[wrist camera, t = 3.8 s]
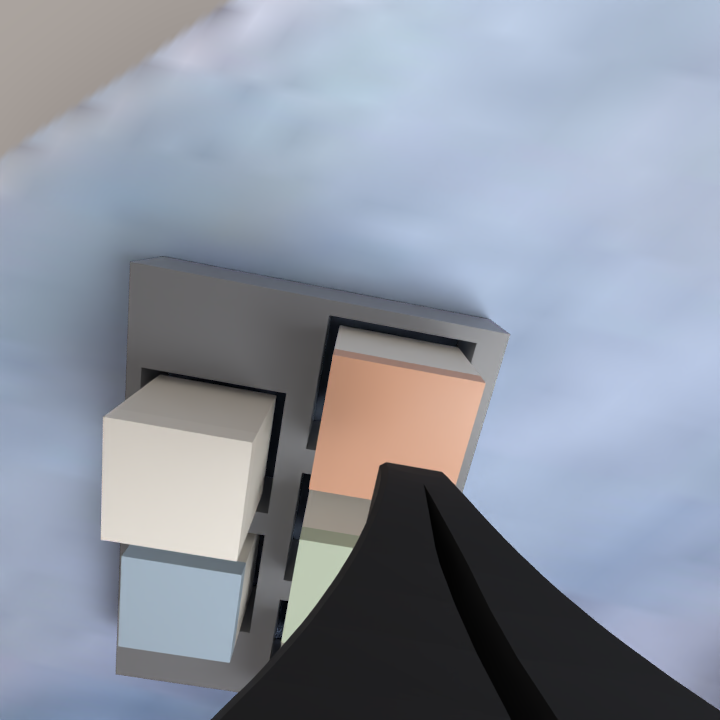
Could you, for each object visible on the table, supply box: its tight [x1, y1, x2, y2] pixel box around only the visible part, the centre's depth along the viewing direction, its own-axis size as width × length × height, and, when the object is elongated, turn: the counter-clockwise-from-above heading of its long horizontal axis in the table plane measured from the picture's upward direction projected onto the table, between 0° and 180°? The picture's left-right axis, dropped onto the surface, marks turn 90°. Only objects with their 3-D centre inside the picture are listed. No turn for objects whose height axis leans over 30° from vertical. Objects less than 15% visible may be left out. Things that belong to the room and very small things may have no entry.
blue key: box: [118, 533, 260, 663], centre depth 18 cm, size 4×4×4 cm
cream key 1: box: [101, 375, 277, 561], centre depth 15 cm, size 4×4×4 cm
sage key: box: [281, 490, 371, 643], centre depth 16 cm, size 4×4×4 cm
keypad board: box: [116, 256, 510, 692], centre depth 18 cm, size 18×12×2 cm
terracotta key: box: [309, 325, 486, 500], centre depth 14 cm, size 4×4×4 cm
